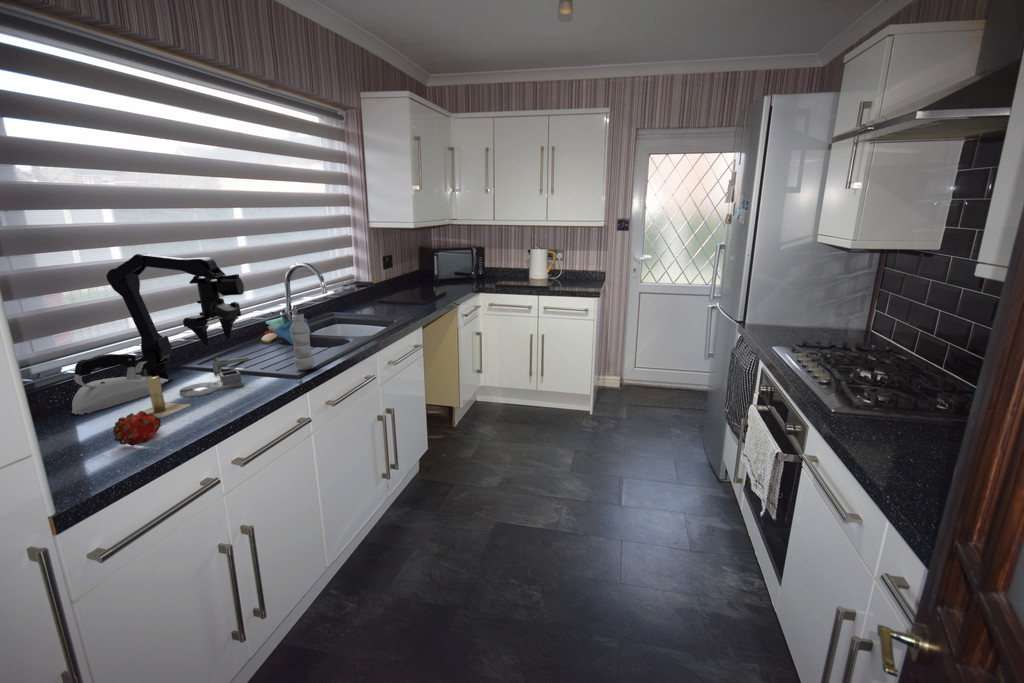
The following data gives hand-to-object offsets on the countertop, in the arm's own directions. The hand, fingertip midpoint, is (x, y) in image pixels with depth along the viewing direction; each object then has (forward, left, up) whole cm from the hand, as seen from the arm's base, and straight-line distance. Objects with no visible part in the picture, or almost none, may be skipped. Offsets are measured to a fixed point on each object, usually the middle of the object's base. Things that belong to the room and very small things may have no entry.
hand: (217, 342), depth 174 cm
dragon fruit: (+18, -46, -13) cm, 51 cm away
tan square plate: (+6, -29, -13) cm, 32 cm away
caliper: (-8, +13, -14) cm, 20 cm away
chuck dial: (+5, -10, -13) cm, 17 cm away
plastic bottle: (+22, +14, -13) cm, 29 cm away
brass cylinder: (+6, -30, -12) cm, 33 cm away
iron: (-16, -24, -13) cm, 32 cm away
